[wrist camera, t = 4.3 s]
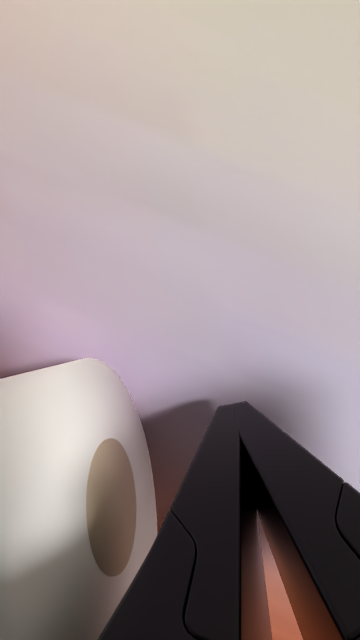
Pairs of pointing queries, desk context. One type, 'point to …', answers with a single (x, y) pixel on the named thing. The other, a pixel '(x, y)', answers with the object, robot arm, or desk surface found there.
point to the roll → (70, 500)
